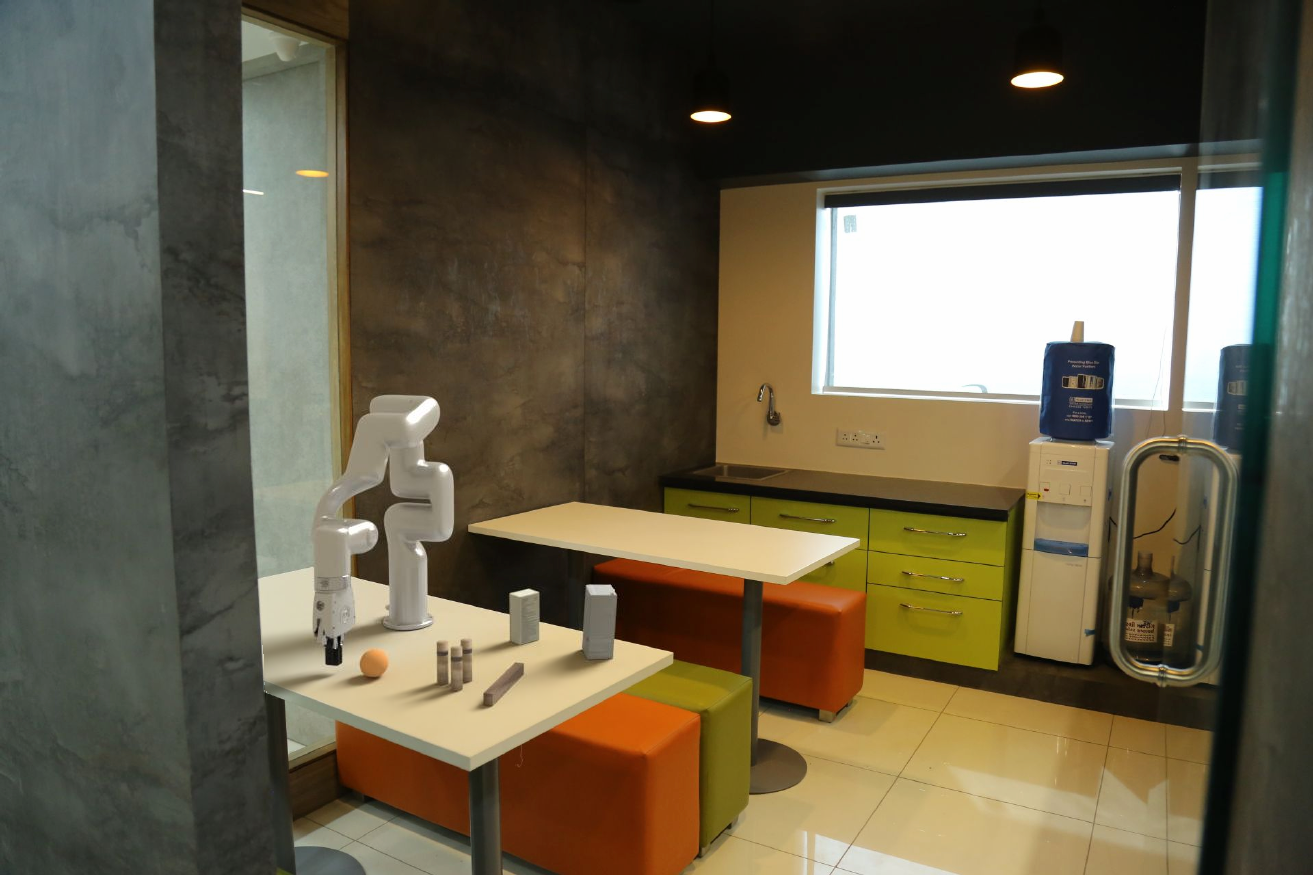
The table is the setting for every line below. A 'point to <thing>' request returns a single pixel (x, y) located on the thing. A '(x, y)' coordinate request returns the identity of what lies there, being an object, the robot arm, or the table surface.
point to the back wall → (503, 684)
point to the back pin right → (456, 668)
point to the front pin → (442, 662)
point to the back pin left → (467, 659)
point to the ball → (374, 663)
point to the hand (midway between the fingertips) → (333, 664)
